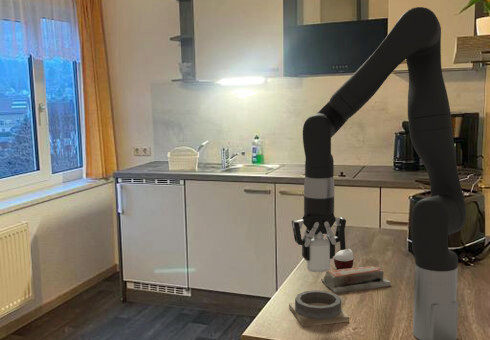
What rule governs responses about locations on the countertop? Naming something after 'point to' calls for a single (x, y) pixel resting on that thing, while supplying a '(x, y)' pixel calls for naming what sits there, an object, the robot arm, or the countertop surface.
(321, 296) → the collar board
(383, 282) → the packaged product
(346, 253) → the red-capped knob on stick
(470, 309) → the countertop surface
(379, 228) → the countertop surface
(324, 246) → the eye dropper bottle
